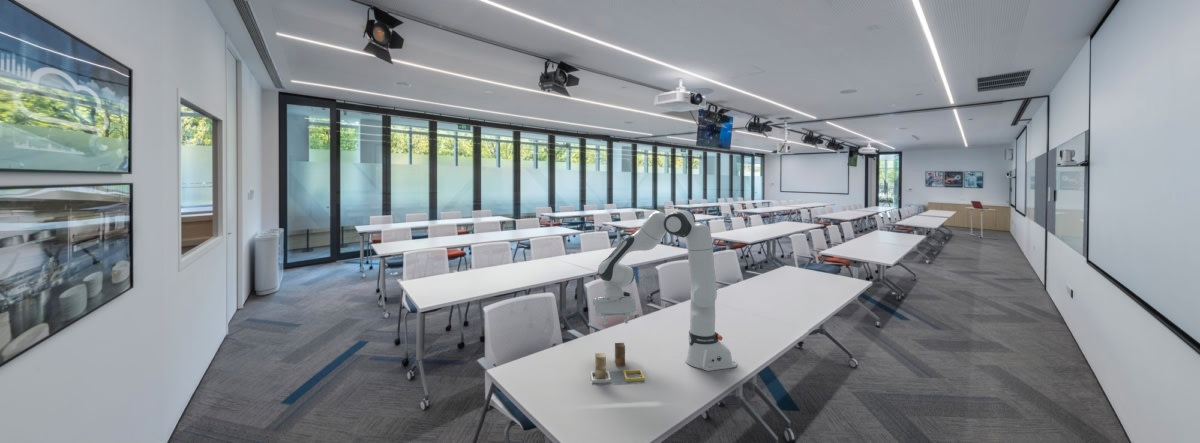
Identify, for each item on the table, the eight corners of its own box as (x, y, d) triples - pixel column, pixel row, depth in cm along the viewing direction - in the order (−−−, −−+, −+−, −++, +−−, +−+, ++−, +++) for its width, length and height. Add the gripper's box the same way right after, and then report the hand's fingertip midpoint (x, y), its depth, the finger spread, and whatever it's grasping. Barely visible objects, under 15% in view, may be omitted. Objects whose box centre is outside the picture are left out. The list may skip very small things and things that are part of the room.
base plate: (640, 372, 187) (640, 367, 187) (646, 385, 175) (646, 380, 175) (589, 374, 185) (589, 369, 185) (592, 388, 173) (592, 382, 173)
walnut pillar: (623, 364, 196) (623, 342, 195) (624, 367, 192) (625, 346, 191) (614, 364, 195) (614, 343, 194) (615, 368, 191) (616, 346, 190)
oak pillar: (604, 375, 182) (604, 352, 181) (605, 380, 178) (605, 356, 177) (595, 376, 181) (595, 353, 180) (596, 380, 177) (596, 357, 176)
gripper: (593, 294, 209) (594, 320, 200) (635, 293, 211) (638, 319, 202) (592, 300, 213) (594, 326, 205) (633, 299, 215) (636, 325, 207)
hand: (616, 323), depth 203 cm, fingers open, 8 cm apart
